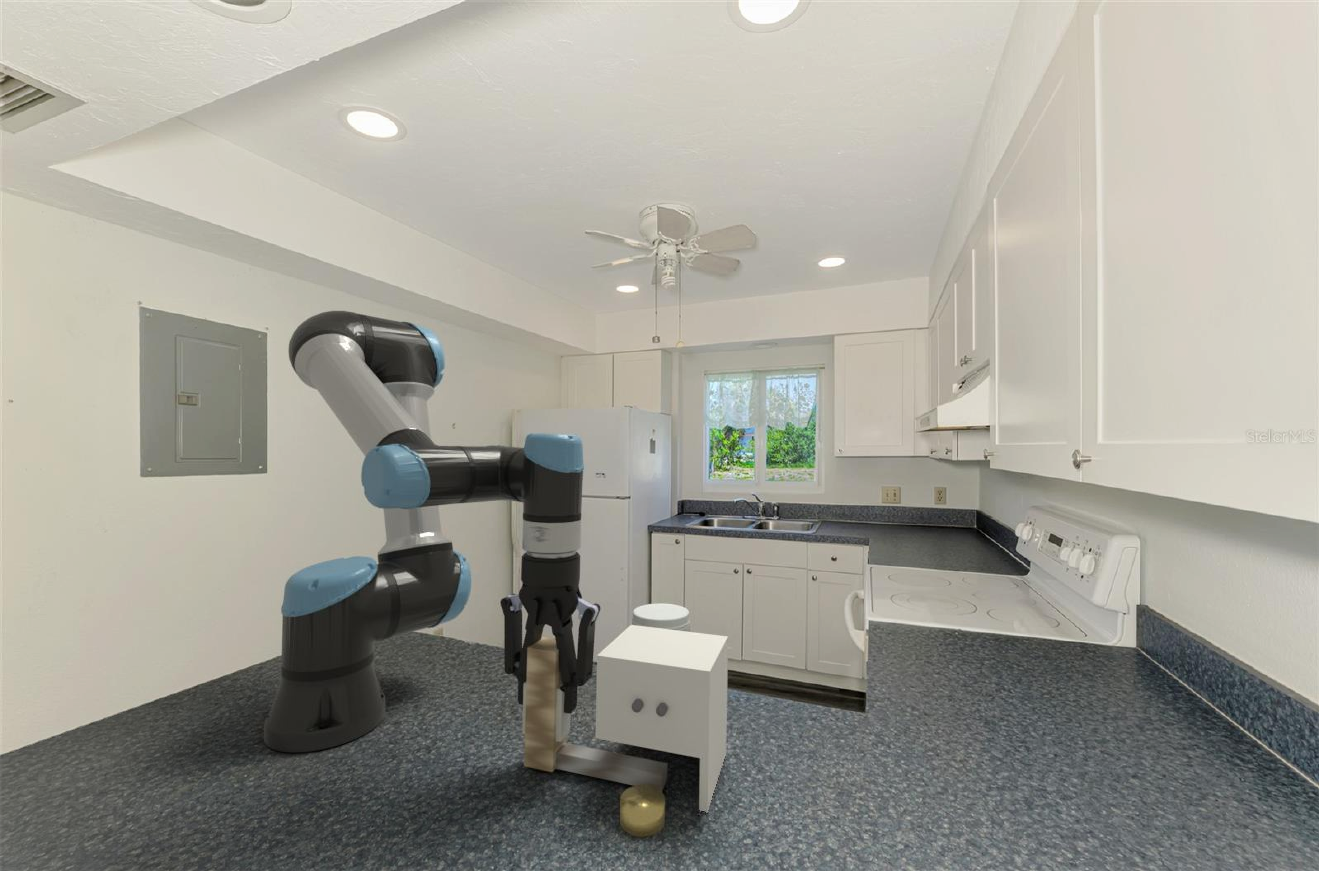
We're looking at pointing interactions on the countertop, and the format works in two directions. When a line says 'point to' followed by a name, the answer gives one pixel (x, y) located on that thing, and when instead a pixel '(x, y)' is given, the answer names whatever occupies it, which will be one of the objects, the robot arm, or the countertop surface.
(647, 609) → the supplement tub
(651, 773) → the scraper tool
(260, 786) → the countertop surface
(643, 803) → the cylinder
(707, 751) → the cabinet
